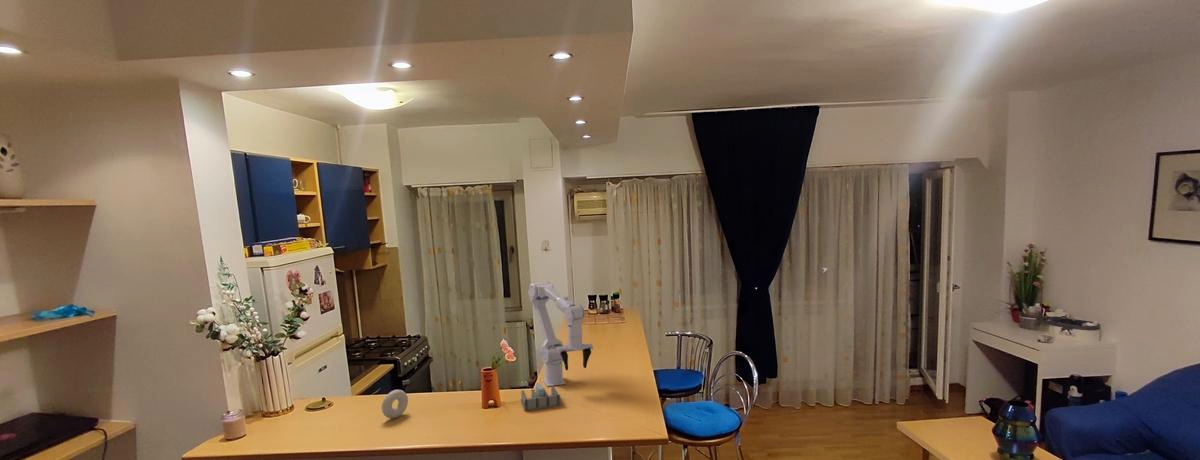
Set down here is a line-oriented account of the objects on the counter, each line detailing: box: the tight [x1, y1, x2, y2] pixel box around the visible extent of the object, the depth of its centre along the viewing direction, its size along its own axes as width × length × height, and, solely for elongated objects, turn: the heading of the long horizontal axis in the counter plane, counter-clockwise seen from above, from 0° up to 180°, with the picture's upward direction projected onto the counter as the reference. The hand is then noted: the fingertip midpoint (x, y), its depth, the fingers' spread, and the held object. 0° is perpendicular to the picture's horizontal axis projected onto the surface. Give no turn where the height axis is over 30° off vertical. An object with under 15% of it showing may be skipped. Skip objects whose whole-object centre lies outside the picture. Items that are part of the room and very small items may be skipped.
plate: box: [535, 382, 545, 397], centre depth 180 cm, size 7×2×6 cm, turn 18°
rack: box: [520, 386, 561, 412], centre depth 179 cm, size 10×14×4 cm
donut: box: [381, 389, 409, 419], centre depth 169 cm, size 10×4×10 cm, turn 149°
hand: (575, 368), depth 190 cm, fingers open, 7 cm apart
